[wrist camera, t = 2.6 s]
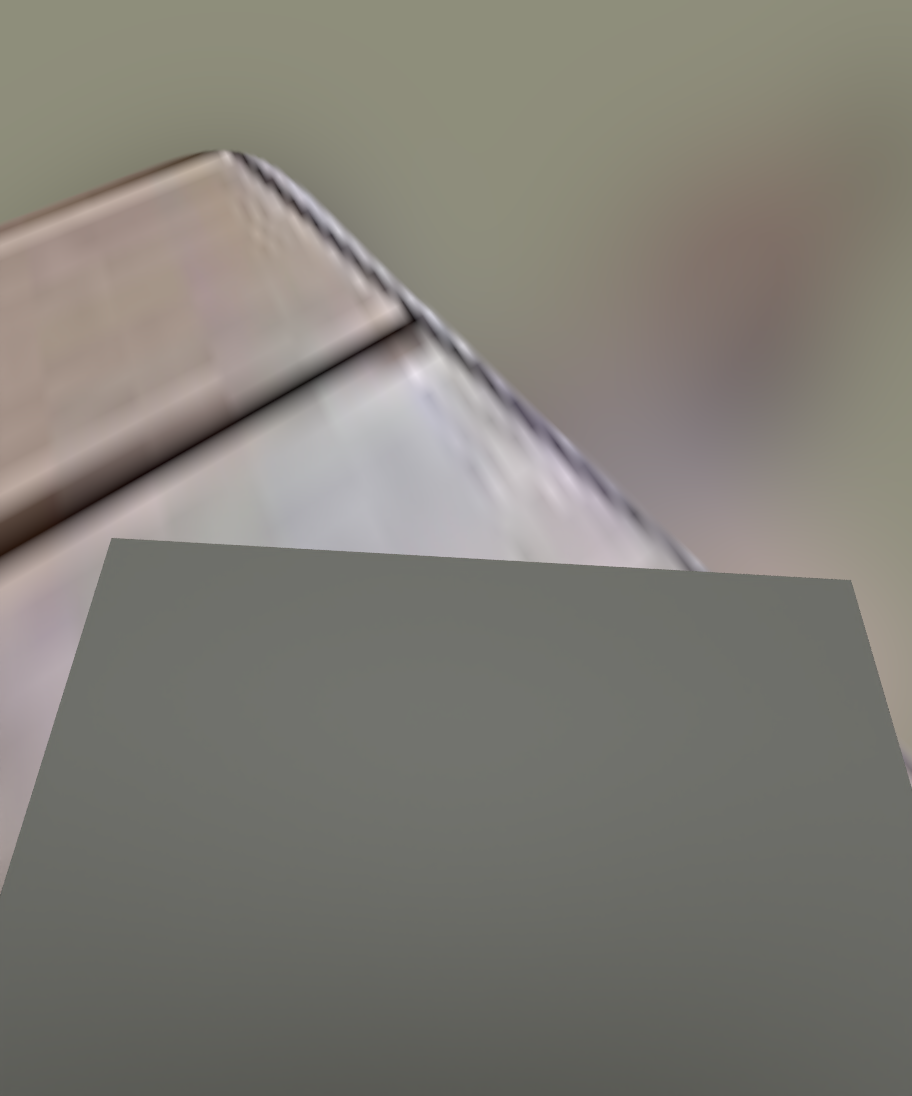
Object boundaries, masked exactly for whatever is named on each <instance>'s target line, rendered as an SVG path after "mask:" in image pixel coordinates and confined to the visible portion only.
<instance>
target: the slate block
mask: <svg viewBox="0 0 912 1096" xmlns="http://www.w3.org/2000/svg"><path fill="white" fill-rule="evenodd" d="M0 1096H912V788H911V784H910V781H909V777H908V774H907V771H906V767H905V764H904V760H903V757H902V753H901V750H900V747H899V743H898V740H897V736H896V733H895V730H894V726H893V723H892V719H891V716H890V712H889V709H888V705H887V702H886V699H885V695H884V692H883V688H882V685H881V682H880V678H879V675H878V671H877V668H876V665H875V661H874V657H873V654H872V651H871V647H870V644H869V640H868V637H867V634H866V630H865V627H864V623H863V620H862V617H861V613H860V610H859V607H858V603H857V600H856V596H855V593H854V589H853V586H852V583H851V580H837V579H820V578H819V579H818V578H802V577H784V576H767V575H750V574H731V573H715V572H697V571H680V570H662V569H644V568H627V567H609V566H592V565H574V564H557V563H539V562H522V561H504V560H487V559H469V558H452V557H434V556H417V555H399V554H382V553H364V552H347V551H329V550H312V549H294V548H277V547H259V546H242V545H224V544H207V543H189V542H171V541H154V540H136V539H119V538H112V539H111V542H110V545H109V548H108V552H107V555H106V558H105V561H104V564H103V568H102V571H101V574H100V577H99V580H98V584H97V587H96V590H95V593H94V596H93V600H92V603H91V606H90V609H89V612H88V616H87V619H86V622H85V625H84V629H83V632H82V635H81V638H80V641H79V645H78V648H77V651H76V654H75V657H74V661H73V664H72V667H71V670H70V673H69V677H68V680H67V683H66V686H65V689H64V693H63V696H62V699H61V702H60V705H59V709H58V712H57V715H56V718H55V722H54V725H53V728H52V731H51V734H50V738H49V741H48V744H47V747H46V750H45V754H44V757H43V760H42V763H41V766H40V770H39V773H38V776H37V779H36V782H35V786H34V789H33V792H32V795H31V798H30V802H29V805H28V808H27V811H26V815H25V818H24V821H23V824H22V827H21V831H20V834H19V837H18V840H17V843H16V847H15V850H14V853H13V856H12V859H11V863H10V866H9V869H8V872H7V875H6V879H5V882H4V885H3V888H2V891H1V895H0Z"/></svg>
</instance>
